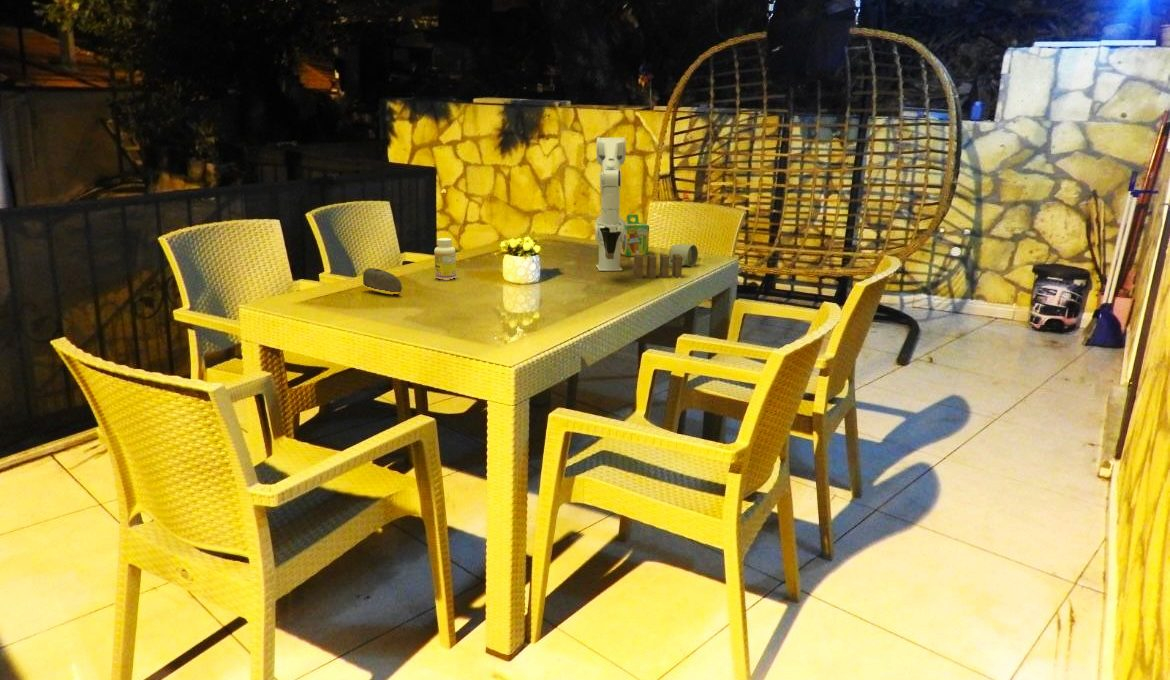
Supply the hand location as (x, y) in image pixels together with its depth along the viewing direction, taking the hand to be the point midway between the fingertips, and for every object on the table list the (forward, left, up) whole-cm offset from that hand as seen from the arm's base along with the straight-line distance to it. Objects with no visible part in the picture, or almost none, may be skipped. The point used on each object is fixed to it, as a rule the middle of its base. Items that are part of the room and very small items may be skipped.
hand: (609, 251), depth 270 cm
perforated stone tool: (+13, -69, -10) cm, 71 cm away
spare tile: (0, 0, -2) cm, 2 cm away
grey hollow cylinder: (-23, +29, -10) cm, 38 cm away
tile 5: (-5, +23, -9) cm, 25 cm away
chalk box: (-47, +16, -10) cm, 50 cm away
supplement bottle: (-7, -52, -10) cm, 53 cm away
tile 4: (-5, +19, -9) cm, 22 cm away
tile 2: (-5, +10, -9) cm, 15 cm away
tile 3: (-5, +15, -9) cm, 18 cm away
